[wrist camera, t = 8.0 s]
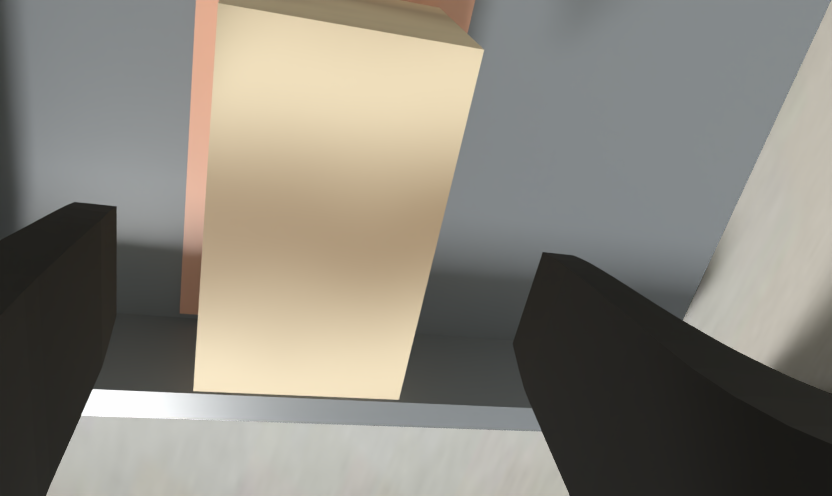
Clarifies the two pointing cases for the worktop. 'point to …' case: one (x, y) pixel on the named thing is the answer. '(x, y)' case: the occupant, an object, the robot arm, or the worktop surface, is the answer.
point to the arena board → (469, 194)
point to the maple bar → (326, 191)
